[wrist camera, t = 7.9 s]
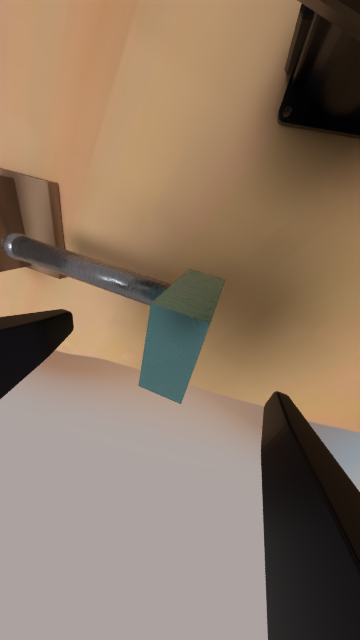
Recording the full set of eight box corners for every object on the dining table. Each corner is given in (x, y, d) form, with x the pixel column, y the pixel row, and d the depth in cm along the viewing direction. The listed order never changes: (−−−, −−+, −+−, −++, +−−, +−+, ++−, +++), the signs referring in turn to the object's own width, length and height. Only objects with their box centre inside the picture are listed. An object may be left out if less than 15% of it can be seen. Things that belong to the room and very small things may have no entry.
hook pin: (226, 275, 13) (210, 323, 7) (206, 333, 15) (180, 404, 9) (15, 210, 16) (-128, 205, 10) (27, 268, 18) (-79, 292, 12)
